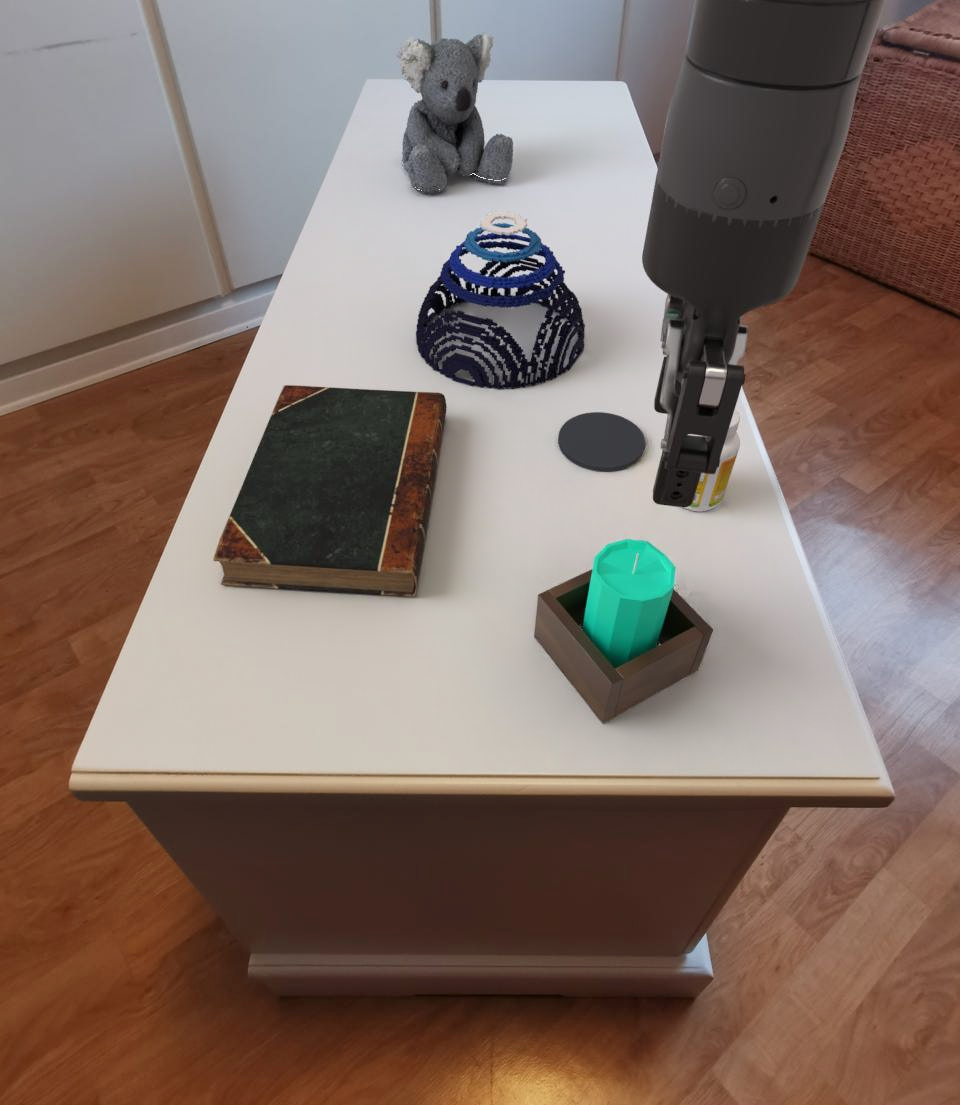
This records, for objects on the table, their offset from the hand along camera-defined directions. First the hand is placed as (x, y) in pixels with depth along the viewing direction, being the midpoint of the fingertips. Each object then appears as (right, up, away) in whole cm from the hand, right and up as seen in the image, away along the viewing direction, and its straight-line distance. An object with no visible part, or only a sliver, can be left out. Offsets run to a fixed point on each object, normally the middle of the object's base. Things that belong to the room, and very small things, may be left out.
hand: (670, 453), depth 47 cm
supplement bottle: (+10, 0, +29) cm, 31 cm away
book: (-25, 0, +29) cm, 38 cm away
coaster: (+1, +5, +34) cm, 35 cm away
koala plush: (-17, +57, +81) cm, 100 cm away
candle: (-1, -14, +16) cm, 22 cm away
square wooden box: (-1, -14, +16) cm, 22 cm away
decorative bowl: (-9, +20, +47) cm, 52 cm away
